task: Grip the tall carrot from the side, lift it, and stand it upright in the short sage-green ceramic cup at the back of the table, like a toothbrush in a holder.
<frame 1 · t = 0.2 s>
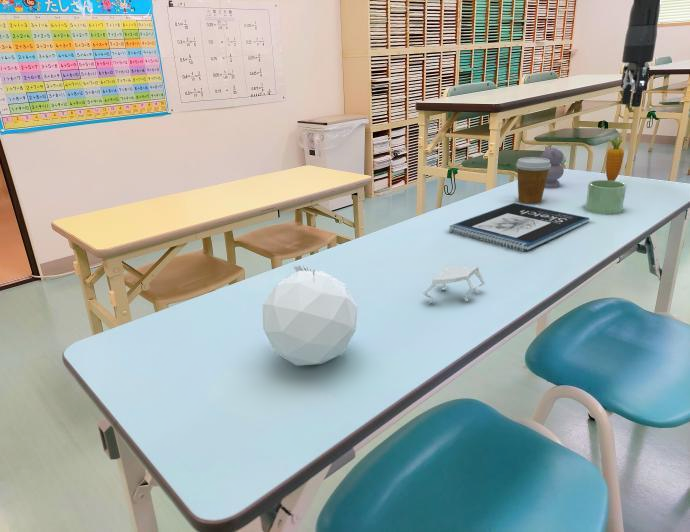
hand: (630, 105, 149), 25 cm above the table, tool pointing down, fingers open, 8 cm apart
white legged piece: (449, 298, 96), on the table
geodesic sphere: (312, 357, 79), on the table
cat figurine: (548, 185, 168), on the table
carrot: (610, 185, 166), on the table
green cup: (603, 209, 142), on the table
disposable coffee cup: (529, 201, 152), on the table
sketchbook: (518, 227, 131), on the table
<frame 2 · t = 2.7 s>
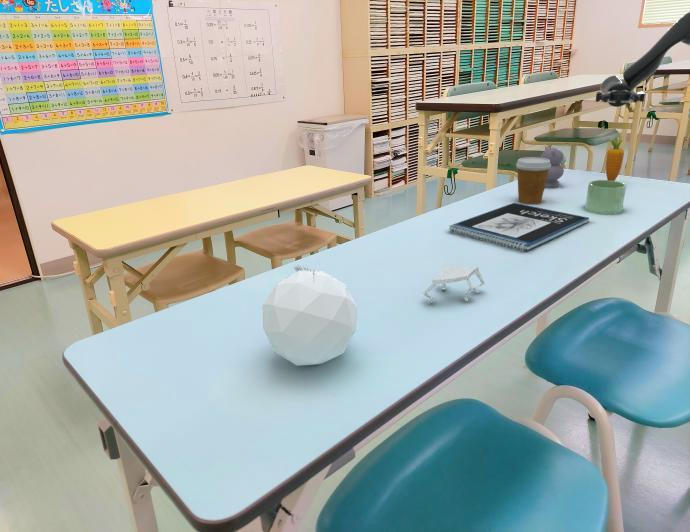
hand: (620, 98, 165), 25 cm above the table, tool horizontal, fingers open, 8 cm apart
nothing on the table moved.
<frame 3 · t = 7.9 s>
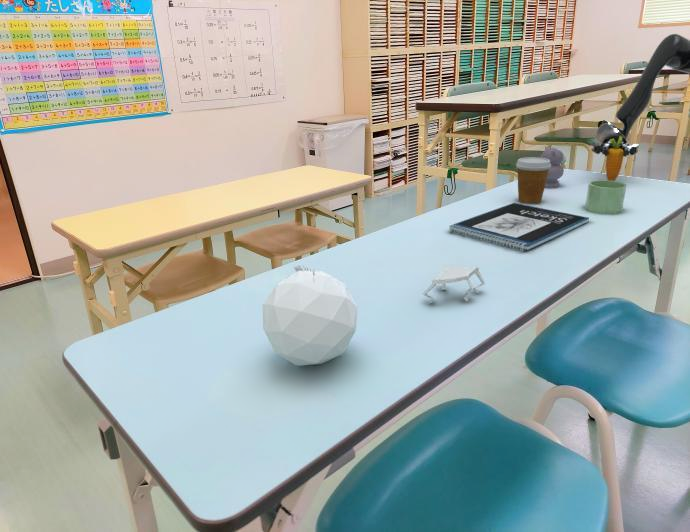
hand: (616, 152, 159), 10 cm above the table, tool horizontal, fingers closed on carrot, 4 cm apart
carrot: (610, 185, 166), on the table, touching gripper
everything else where it was.
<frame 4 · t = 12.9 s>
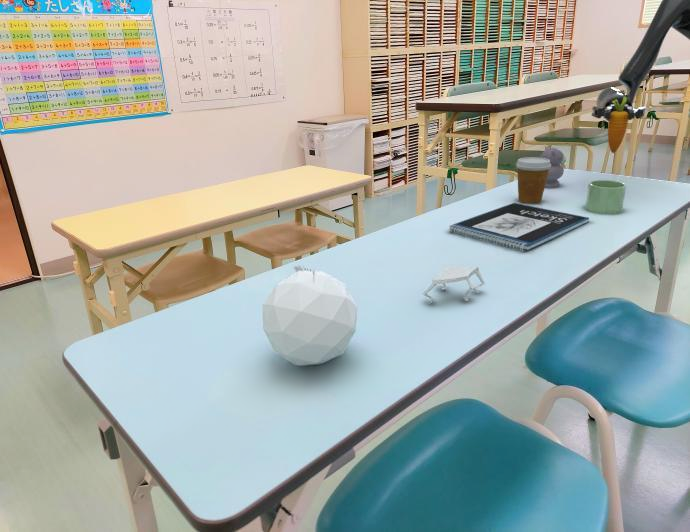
hand: (619, 115, 139), 24 cm above the table, tool horizontal, fingers closed on carrot, 4 cm apart
carrot: (613, 153, 146), point 13 cm above the table, touching gripper
everything else where it was.
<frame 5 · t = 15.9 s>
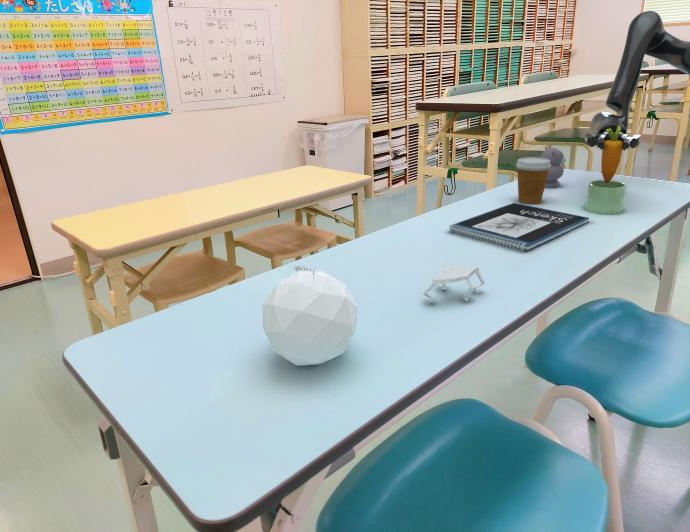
hand: (613, 145, 133), 18 cm above the table, tool horizontal, fingers closed on carrot, 4 cm apart
carrot: (606, 184, 139), point 7 cm above the table, touching gripper
everything else where it was.
when the fingers open (11 cm above the table, at t = 18.2 s): carrot stays where it is, resting on green cup.
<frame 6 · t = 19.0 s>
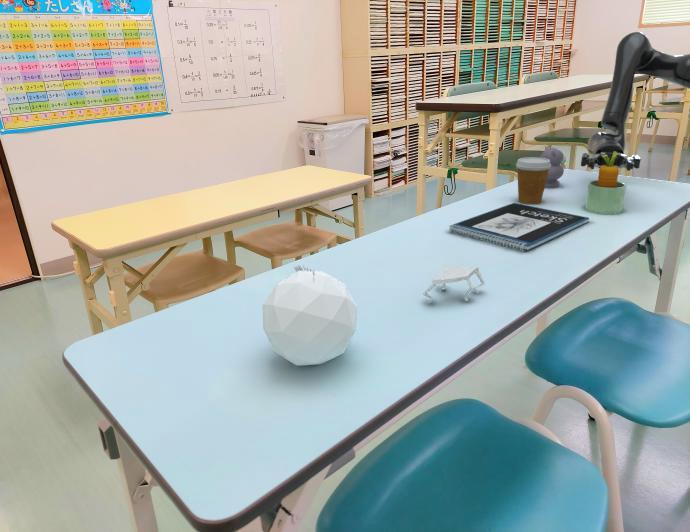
hand: (611, 166, 135), 12 cm above the table, tool horizontal, fingers open, 8 cm apart
carrot: (603, 207, 142), resting on green cup
everything else where it was.
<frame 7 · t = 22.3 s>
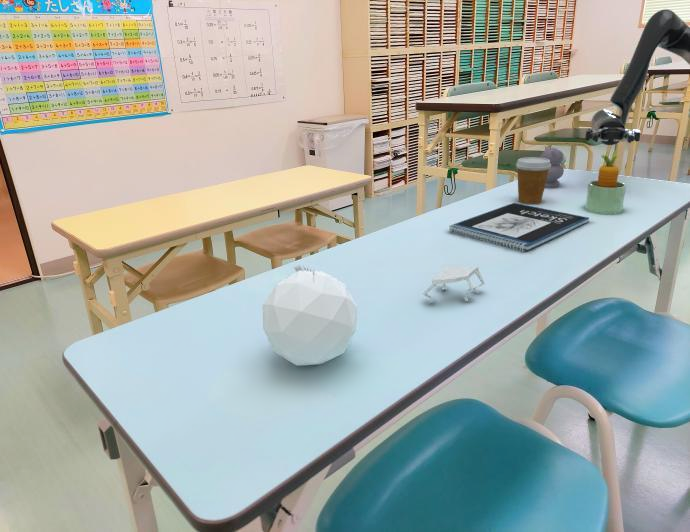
hand: (613, 138, 146), 17 cm above the table, tool horizontal, fingers open, 8 cm apart
nothing on the table moved.
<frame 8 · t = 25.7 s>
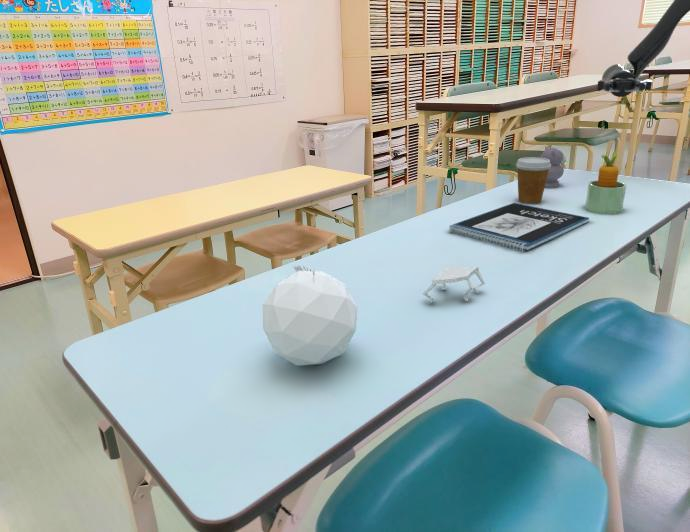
hand: (625, 87, 148), 30 cm above the table, tool horizontal, fingers open, 8 cm apart
nothing on the table moved.
at the end: carrot 0.2 cm off-centre in the green cup, point 0.3 cm above the green cup's base; carrot tilted 0°; the gripper is holding nothing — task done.
